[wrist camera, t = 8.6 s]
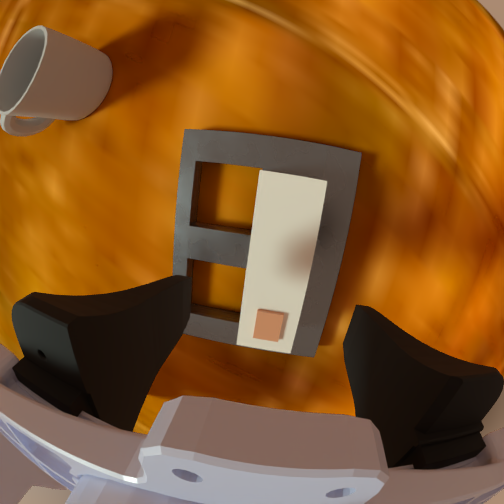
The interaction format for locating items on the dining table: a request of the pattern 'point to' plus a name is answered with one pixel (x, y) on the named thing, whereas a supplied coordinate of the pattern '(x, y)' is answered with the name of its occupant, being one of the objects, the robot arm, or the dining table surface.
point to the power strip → (279, 259)
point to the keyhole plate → (238, 240)
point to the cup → (50, 81)
